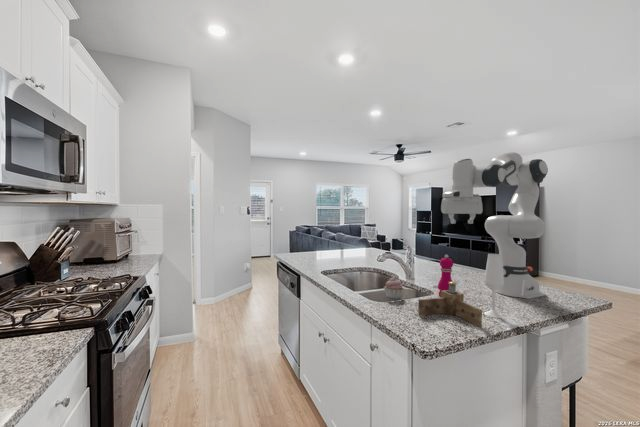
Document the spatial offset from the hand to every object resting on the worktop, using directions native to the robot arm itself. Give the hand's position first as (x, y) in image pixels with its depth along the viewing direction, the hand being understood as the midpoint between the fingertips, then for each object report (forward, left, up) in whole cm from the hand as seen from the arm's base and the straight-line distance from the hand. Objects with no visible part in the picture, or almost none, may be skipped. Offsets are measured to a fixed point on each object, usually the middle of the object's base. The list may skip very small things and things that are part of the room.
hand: (461, 223), depth 135 cm
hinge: (+22, +20, -35) cm, 46 cm away
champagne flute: (+2, +20, -35) cm, 41 cm away
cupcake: (+30, -8, -35) cm, 47 cm away
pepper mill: (+4, -5, -35) cm, 36 cm away
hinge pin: (+16, +14, -32) cm, 38 cm away
